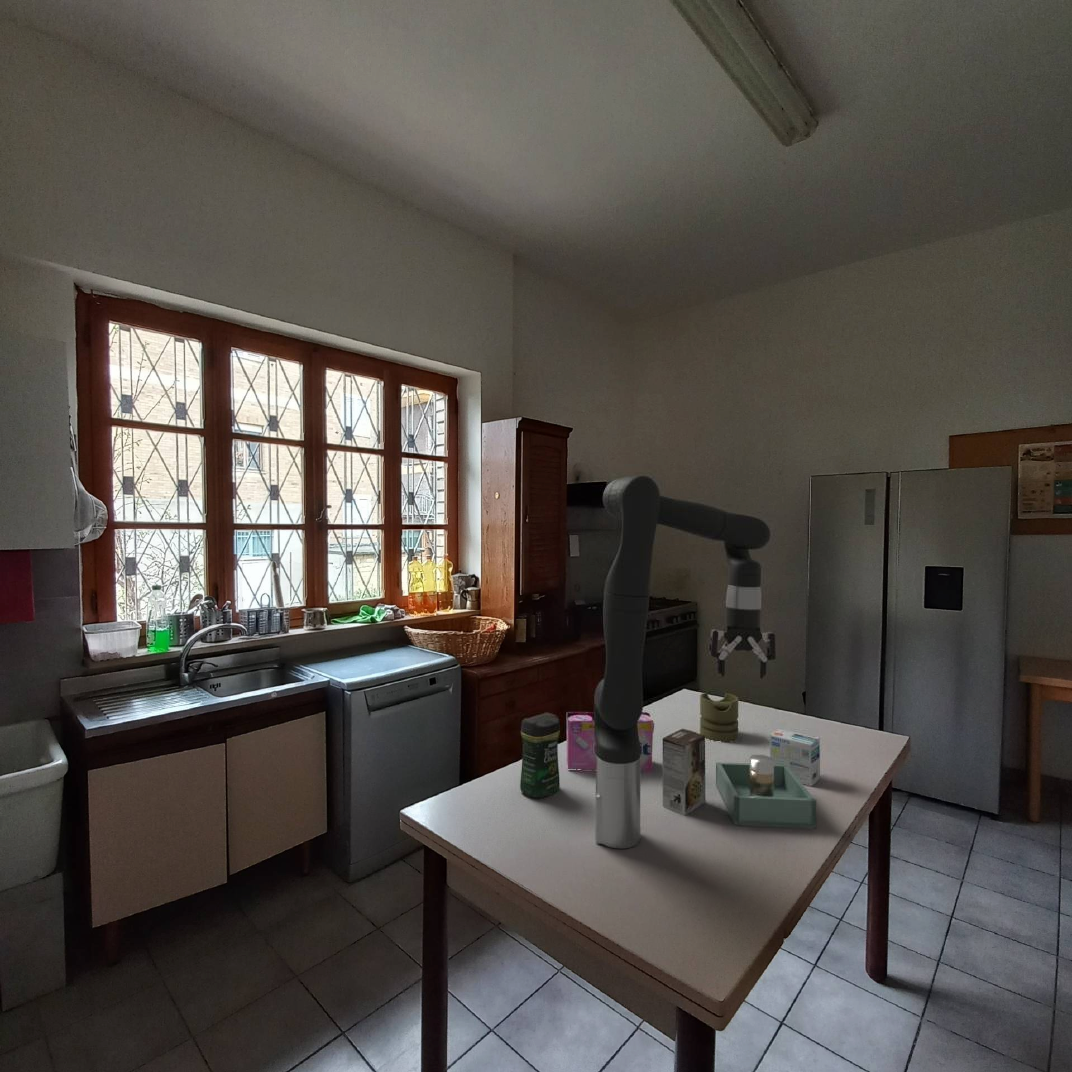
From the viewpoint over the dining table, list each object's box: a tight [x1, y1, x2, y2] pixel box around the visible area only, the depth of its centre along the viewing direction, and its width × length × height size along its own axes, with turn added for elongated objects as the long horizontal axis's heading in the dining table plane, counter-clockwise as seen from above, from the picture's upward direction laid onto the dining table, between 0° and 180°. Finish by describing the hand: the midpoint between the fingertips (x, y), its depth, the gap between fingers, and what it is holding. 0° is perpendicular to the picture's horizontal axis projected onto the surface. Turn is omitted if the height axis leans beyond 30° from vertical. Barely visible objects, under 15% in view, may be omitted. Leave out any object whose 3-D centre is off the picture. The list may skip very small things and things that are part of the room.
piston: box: [699, 692, 739, 743], centre depth 181 cm, size 11×12×11 cm
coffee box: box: [662, 728, 707, 816], centre depth 136 cm, size 9×6×16 cm
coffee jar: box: [519, 712, 561, 799], centre depth 143 cm, size 10×8×19 cm
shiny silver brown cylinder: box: [749, 754, 774, 797], centre depth 135 cm, size 5×5×10 cm
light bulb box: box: [769, 728, 821, 787], centre depth 151 cm, size 11×7×11 cm, turn 47°
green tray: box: [715, 761, 817, 829], centre depth 135 cm, size 17×19×6 cm
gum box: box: [566, 711, 655, 772], centre depth 158 cm, size 24×8×14 cm, turn 89°
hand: (740, 676), depth 133 cm, fingers open, 8 cm apart
